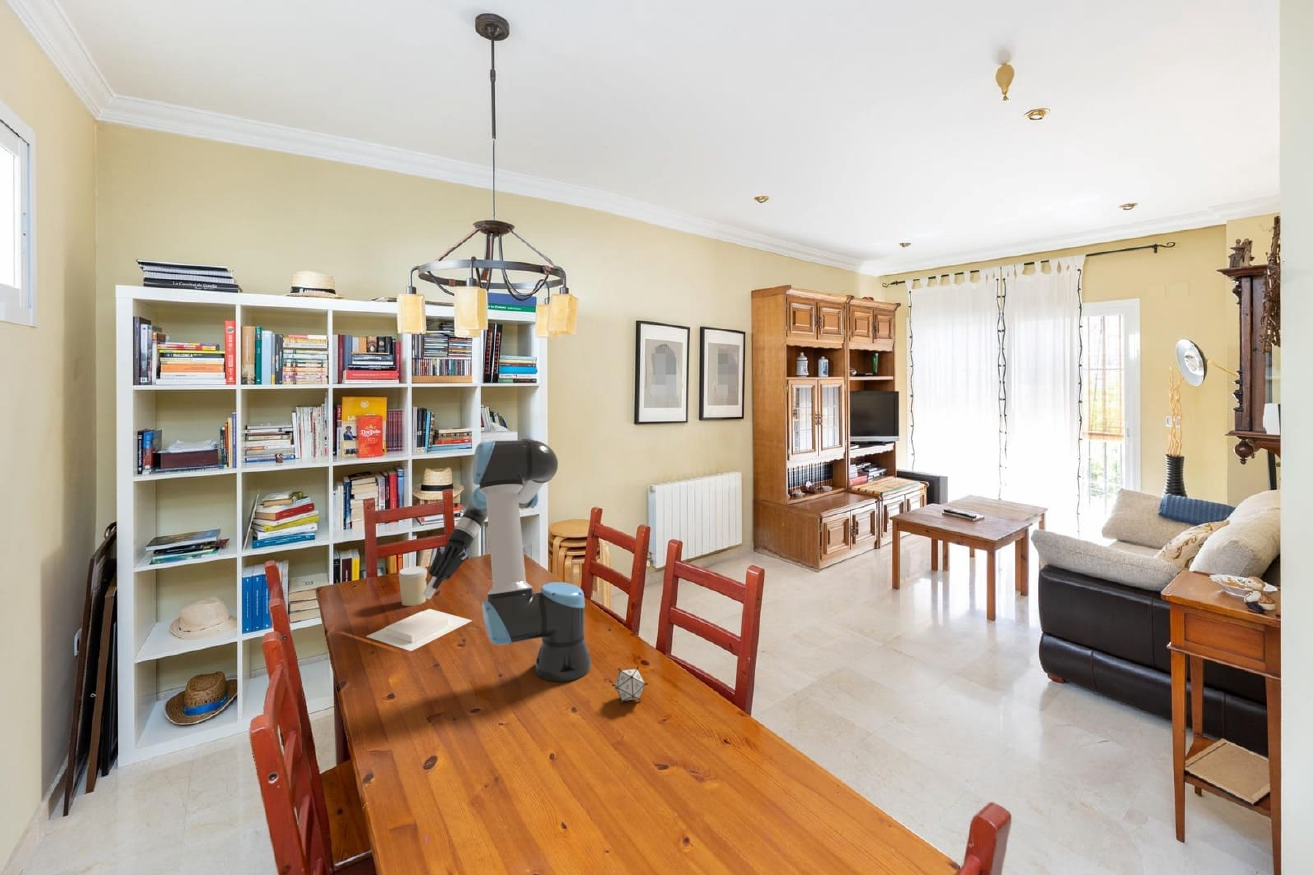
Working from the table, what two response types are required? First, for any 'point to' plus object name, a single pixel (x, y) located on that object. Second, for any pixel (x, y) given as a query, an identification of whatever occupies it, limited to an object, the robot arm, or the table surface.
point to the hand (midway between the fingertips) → (425, 597)
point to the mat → (453, 624)
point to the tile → (416, 626)
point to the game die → (629, 684)
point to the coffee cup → (412, 585)
